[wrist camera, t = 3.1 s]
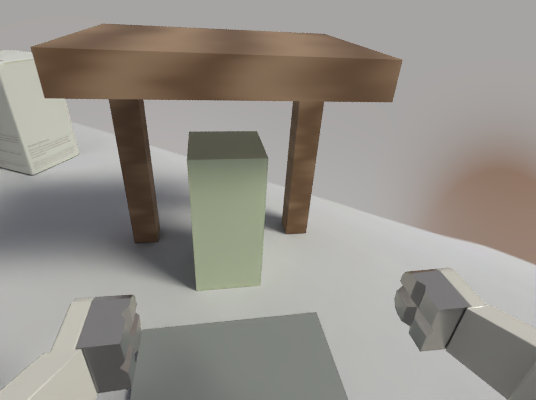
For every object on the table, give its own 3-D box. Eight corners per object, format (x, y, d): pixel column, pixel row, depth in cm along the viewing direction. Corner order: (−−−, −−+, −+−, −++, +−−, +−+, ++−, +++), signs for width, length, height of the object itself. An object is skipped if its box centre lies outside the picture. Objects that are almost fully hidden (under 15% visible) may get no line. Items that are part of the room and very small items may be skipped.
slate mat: (109, 534, 14) (107, 531, 14) (142, 333, 23) (141, 329, 23) (375, 482, 16) (376, 478, 16) (315, 315, 25) (316, 312, 25)
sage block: (196, 291, 26) (187, 160, 21) (197, 249, 31) (189, 131, 25) (260, 285, 27) (268, 158, 22) (252, 246, 31) (257, 131, 26)
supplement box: (81, 154, 46) (57, 54, 40) (32, 177, 40) (-6, 63, 34) (40, 145, 48) (10, 48, 42) (-14, 165, 42) (-57, 55, 36)
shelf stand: (110, 337, 22) (30, 47, 13) (138, 229, 32) (102, 23, 24) (341, 313, 25) (402, 59, 16) (300, 221, 35) (324, 34, 26)
